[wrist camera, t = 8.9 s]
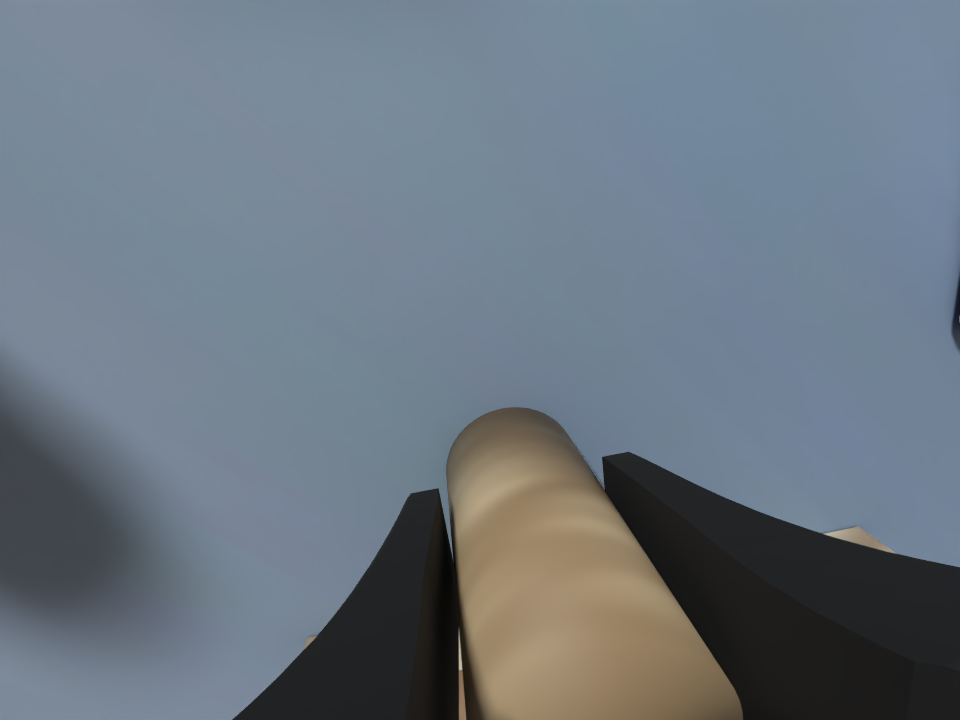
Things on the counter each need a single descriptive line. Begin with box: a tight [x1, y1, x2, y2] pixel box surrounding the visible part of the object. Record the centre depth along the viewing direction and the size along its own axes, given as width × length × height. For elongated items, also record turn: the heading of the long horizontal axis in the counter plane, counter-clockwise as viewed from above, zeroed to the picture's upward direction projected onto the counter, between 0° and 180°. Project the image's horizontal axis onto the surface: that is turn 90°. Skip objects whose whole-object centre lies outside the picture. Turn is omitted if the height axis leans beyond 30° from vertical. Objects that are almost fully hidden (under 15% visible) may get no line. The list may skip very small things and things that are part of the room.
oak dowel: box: [446, 408, 743, 720], centre depth 9 cm, size 3×3×7 cm
